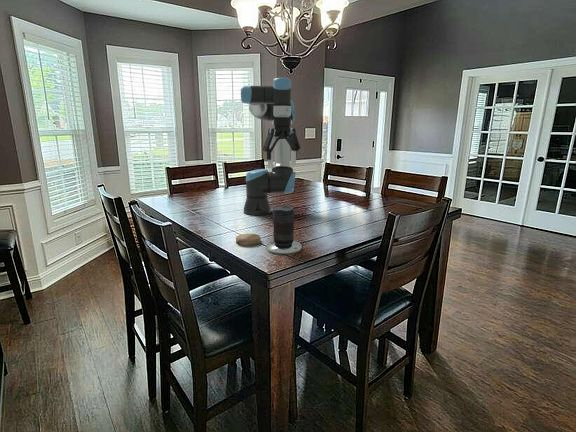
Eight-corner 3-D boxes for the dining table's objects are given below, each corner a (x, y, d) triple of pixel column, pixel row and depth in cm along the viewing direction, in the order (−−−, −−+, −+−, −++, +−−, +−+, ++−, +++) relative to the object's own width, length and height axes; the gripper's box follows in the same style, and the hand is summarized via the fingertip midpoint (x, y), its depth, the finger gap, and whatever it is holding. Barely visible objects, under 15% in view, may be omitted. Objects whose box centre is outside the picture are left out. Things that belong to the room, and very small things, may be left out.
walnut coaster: (230, 244, 138) (230, 238, 137) (246, 237, 146) (246, 232, 146) (250, 248, 133) (250, 242, 132) (265, 241, 141) (265, 236, 140)
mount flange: (258, 249, 131) (258, 247, 130) (278, 239, 142) (278, 237, 142) (289, 257, 124) (289, 254, 123) (308, 246, 135) (308, 243, 135)
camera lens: (275, 241, 137) (275, 205, 133) (295, 243, 135) (296, 206, 132) (270, 248, 130) (270, 210, 126) (291, 250, 128) (291, 211, 124)
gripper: (265, 115, 135) (265, 169, 140) (308, 117, 151) (307, 165, 157) (253, 116, 140) (254, 167, 146) (296, 117, 157) (296, 163, 162)
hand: (282, 166), depth 151 cm, fingers open, 13 cm apart
